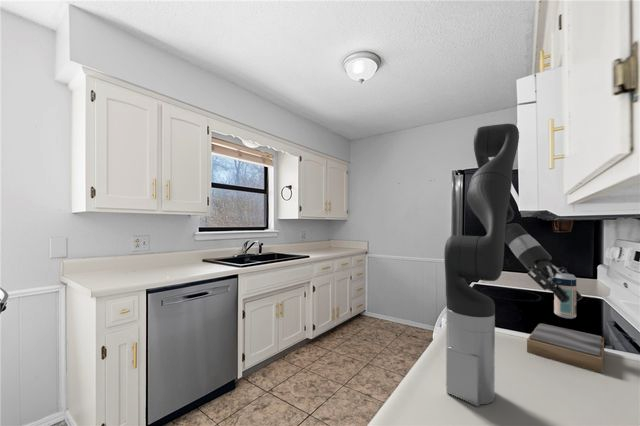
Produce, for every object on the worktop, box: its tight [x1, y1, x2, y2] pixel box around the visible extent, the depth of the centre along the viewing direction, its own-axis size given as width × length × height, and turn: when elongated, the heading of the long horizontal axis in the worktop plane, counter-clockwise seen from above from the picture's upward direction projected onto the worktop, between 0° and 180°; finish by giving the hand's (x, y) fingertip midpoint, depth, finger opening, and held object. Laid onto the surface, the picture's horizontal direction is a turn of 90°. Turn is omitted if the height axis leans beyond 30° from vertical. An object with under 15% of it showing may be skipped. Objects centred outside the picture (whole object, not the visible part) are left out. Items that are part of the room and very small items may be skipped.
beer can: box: [553, 273, 577, 320], centre depth 81 cm, size 5×5×12 cm
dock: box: [526, 322, 605, 374], centre depth 81 cm, size 18×15×4 cm
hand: (572, 300), depth 79 cm, fingers closed on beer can, 4 cm apart
